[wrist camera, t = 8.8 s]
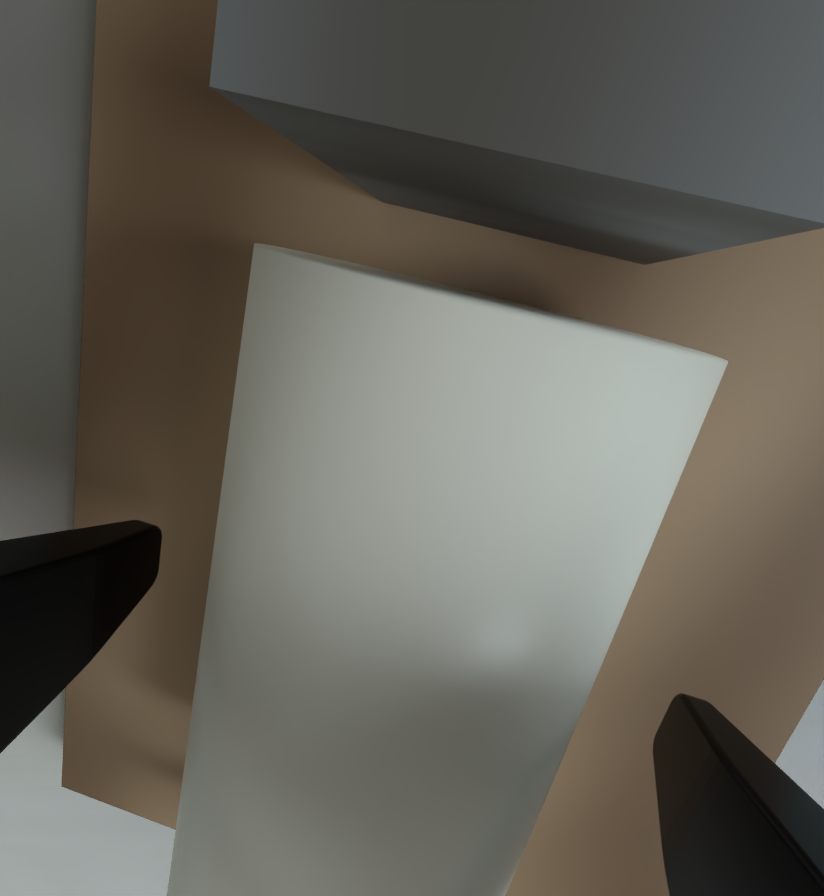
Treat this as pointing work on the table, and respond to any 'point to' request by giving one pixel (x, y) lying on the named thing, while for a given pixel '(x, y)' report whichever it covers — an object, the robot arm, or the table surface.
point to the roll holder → (484, 271)
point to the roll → (414, 576)
